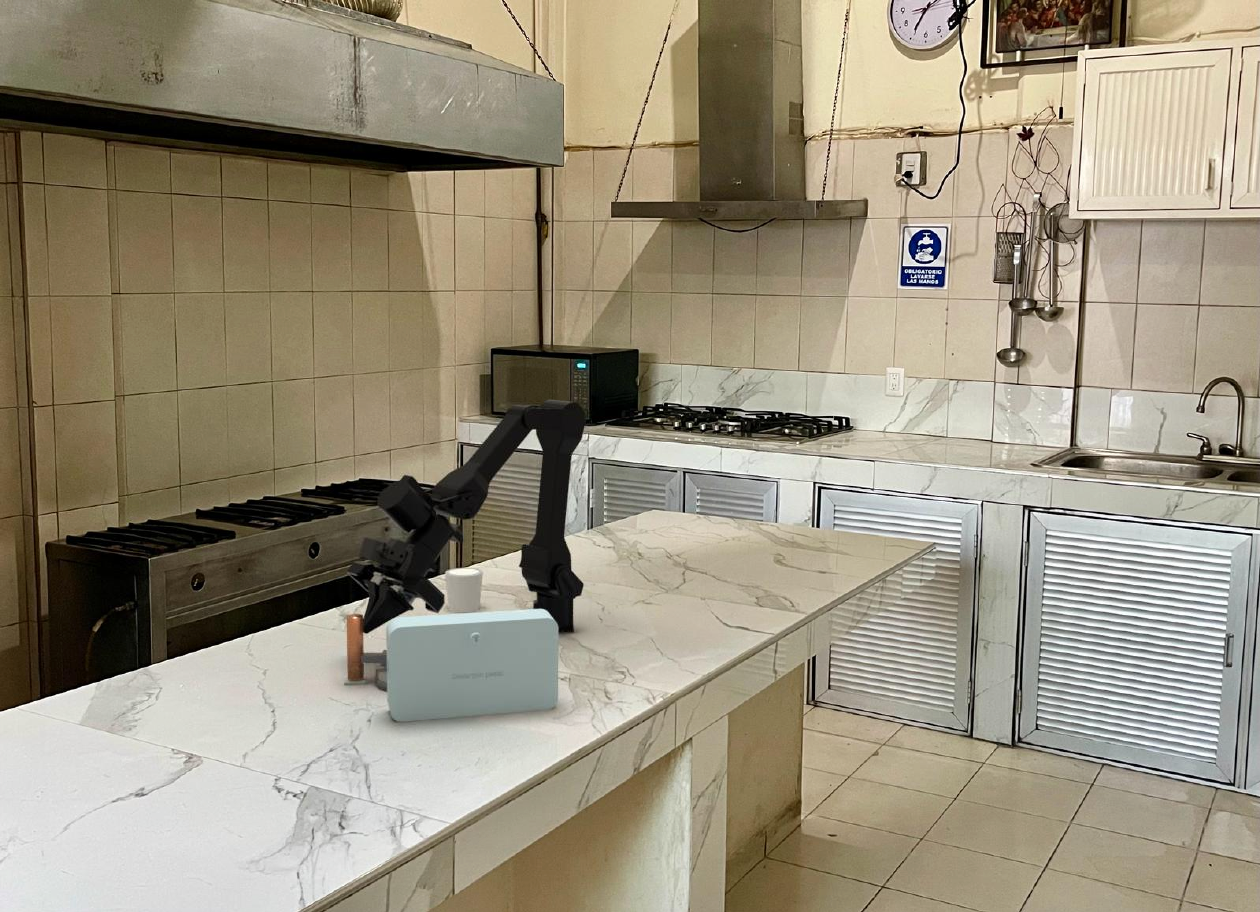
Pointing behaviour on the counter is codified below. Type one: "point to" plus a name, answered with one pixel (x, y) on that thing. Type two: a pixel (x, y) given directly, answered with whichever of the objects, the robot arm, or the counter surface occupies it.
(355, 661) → the copper rod with bracket
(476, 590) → the white cup
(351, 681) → the pale green bar
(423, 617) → the pale blue box
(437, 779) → the counter surface
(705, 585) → the counter surface
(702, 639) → the counter surface
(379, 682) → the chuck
